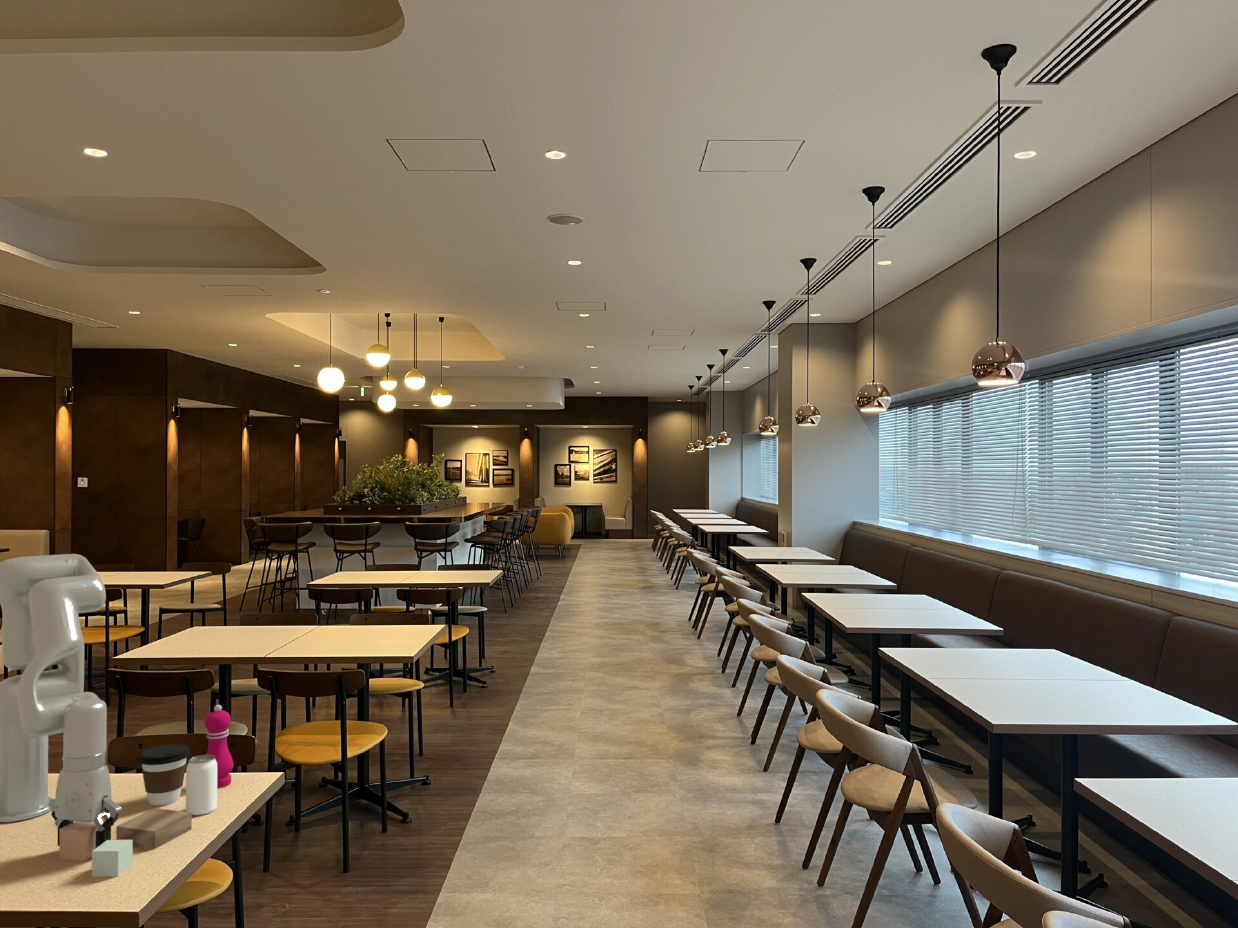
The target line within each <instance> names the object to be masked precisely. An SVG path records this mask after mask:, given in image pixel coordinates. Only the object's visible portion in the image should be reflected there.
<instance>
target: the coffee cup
mask: <svg viewBox="0 0 1238 928" xmlns="http://www.w3.org/2000/svg"><path fill="white" fill-rule="evenodd" d="M190 755H191V752H190V749H189V746H187V745H185V744H181V743H172V744H171V743H169V744H161V745H156V746H153V747H149V748H147V749H145V750H143V751H142V752H141V753H140V756H139V757H138V763H139V764H141V766H142V767H141V772H142V777H143V783H144V789H145V793H146V796H147V801H148V803H149V805H150V806H153V805H154V807H162V806H167V805H171V804H174V803H175V802H177V801H178V800H179V799H180V796H181V793H182V792H181V791H182V787H183V786H184V785H183V784H184V779H185V775H186V767H187V758H188V757H189V756H190Z"/></svg>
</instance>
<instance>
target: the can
mask: <svg viewBox="0 0 1238 928" xmlns="http://www.w3.org/2000/svg"><path fill="white" fill-rule="evenodd" d="M187 761H188V763H187V764H186V769H185V812H191V813H192V817H197V816H203V815H204V816H205V815H208V814H211V813H213V812H214V811H215V810H216V809H217V807H218V788H217V762H216V760H215V756H213V755H206V754H201V755H197V756H193V757H191V758H189V759H188V760H187Z"/></svg>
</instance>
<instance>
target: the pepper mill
mask: <svg viewBox="0 0 1238 928" xmlns="http://www.w3.org/2000/svg"><path fill="white" fill-rule="evenodd" d="M213 710H214V711H211V712H209V713H208V714H207V716H206V717H205V718H204V727H205V728H206V730H207V732H206V734H207V735H206V739H208V746H207V747H208V748H207V752H206V754H205V755H213V756H215V760H216V762H217V789H221V788H225V787H227V786H229V785H230V784H232V775H231V774H230V773H231V772H232V770H233V768H234V760H233V756H232V755H231V752H230V750H229V748H228V743H227V741H228V739H227V738H228V736H229V731H230V730H229V728H228V727H230V726H231V724H232V723H231V722H232V718H231V715H230V713H229V712H227V711H226V710H223V707H222V705H220V704H217V705H215V706H214V707H213Z"/></svg>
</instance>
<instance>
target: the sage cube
mask: <svg viewBox="0 0 1238 928" xmlns="http://www.w3.org/2000/svg"><path fill="white" fill-rule="evenodd" d="M133 847H134V846H133V840H116V839H111V840H107V841H105V842H104V843H103V844H101V845H100V846H99V847H97V848H96V849H95V850H93V851H92V857H91V878H102V877H103V878H106V877H107V878H108V877H110V878H111V877H113V878H116V877H120V876H121V875H122V874H123V873H124V872H125V871H127V870H128V869H129V868H130V867H131V866H133V853H134V852H133V850H134V849H133Z"/></svg>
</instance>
